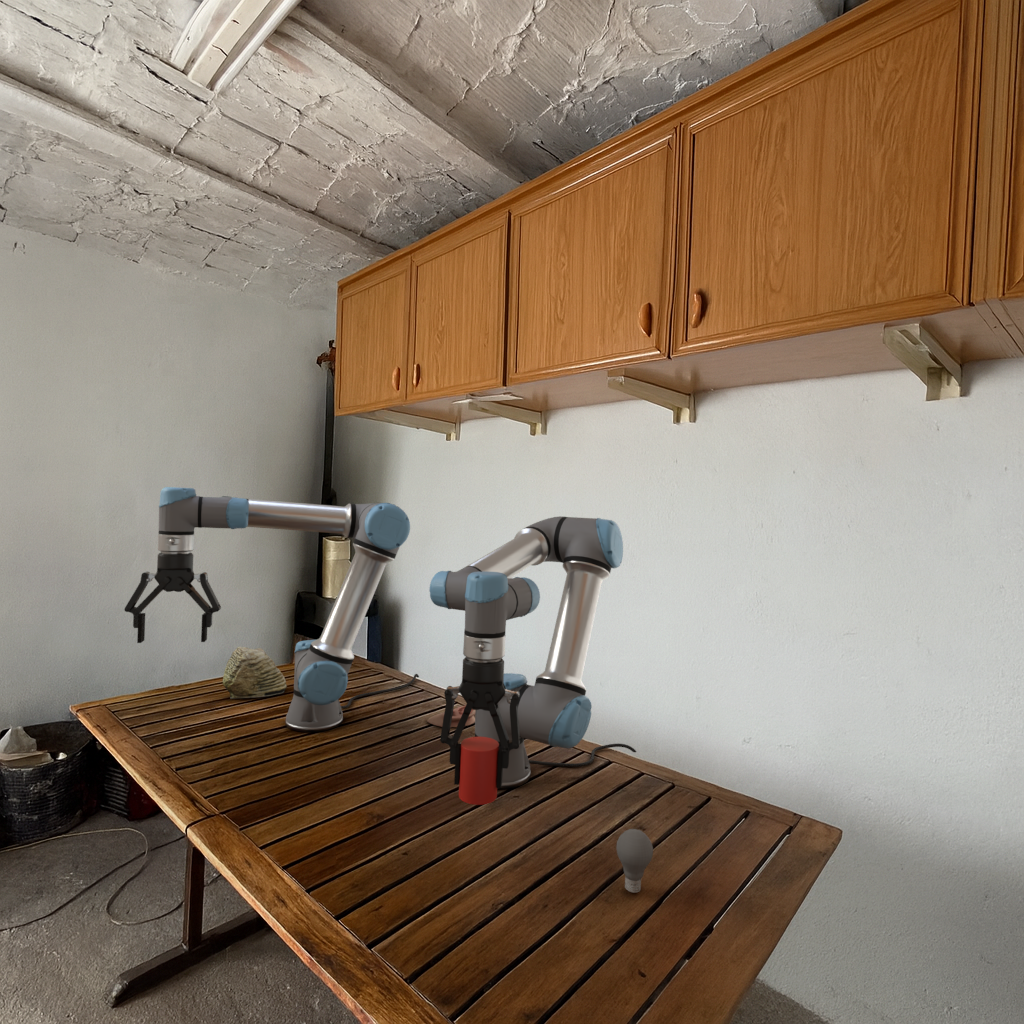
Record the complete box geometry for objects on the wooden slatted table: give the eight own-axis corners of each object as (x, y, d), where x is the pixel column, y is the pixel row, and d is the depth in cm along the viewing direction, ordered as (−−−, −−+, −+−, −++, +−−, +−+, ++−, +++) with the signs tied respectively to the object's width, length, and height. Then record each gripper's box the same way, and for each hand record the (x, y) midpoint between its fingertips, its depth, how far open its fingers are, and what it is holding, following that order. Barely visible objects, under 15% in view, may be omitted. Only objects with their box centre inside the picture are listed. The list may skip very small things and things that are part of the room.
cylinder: (502, 791, 117) (504, 740, 117) (489, 808, 111) (491, 753, 111) (467, 784, 120) (469, 734, 119) (452, 800, 113) (454, 747, 113)
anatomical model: (423, 710, 178) (436, 698, 189) (423, 725, 178) (436, 711, 189) (469, 716, 175) (479, 703, 186) (468, 730, 175) (479, 716, 186)
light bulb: (610, 879, 108) (613, 822, 108) (644, 879, 109) (647, 822, 109) (619, 902, 102) (622, 840, 102) (655, 901, 103) (658, 840, 103)
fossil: (218, 695, 195) (220, 647, 195) (278, 685, 208) (279, 640, 207) (228, 703, 189) (230, 653, 188) (289, 692, 201) (290, 645, 201)
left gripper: (110, 552, 143) (107, 645, 144) (229, 554, 150) (226, 643, 150) (122, 549, 151) (119, 638, 151) (235, 551, 157) (232, 637, 157)
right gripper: (425, 659, 112) (419, 787, 112) (537, 666, 110) (531, 797, 111) (434, 649, 119) (429, 770, 120) (539, 656, 118) (534, 778, 118)
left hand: (172, 641), depth 151 cm, fingers open, 13 cm apart
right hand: (478, 782), depth 115 cm, fingers closed on cylinder, 7 cm apart
